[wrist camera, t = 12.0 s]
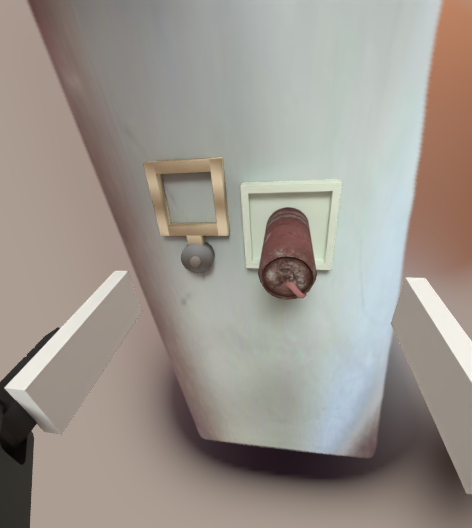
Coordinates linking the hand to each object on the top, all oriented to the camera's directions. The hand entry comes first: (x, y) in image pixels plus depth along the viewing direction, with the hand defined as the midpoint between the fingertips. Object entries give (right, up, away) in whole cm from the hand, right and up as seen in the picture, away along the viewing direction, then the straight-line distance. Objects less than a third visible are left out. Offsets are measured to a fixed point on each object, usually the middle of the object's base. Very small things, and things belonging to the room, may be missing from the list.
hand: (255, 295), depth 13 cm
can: (+7, +7, +26) cm, 28 cm away
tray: (+7, +7, +27) cm, 29 cm away
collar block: (-7, +9, +29) cm, 31 cm away
